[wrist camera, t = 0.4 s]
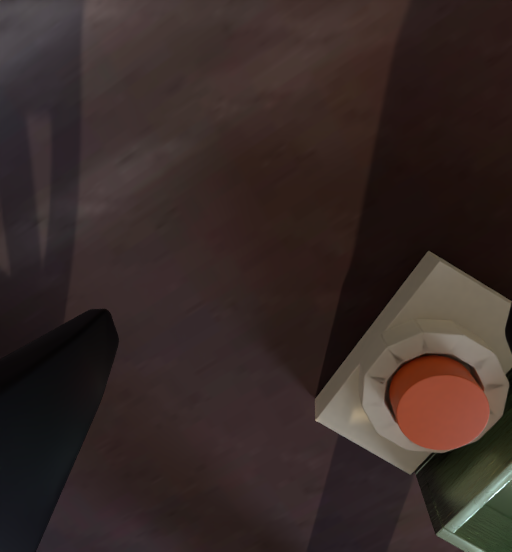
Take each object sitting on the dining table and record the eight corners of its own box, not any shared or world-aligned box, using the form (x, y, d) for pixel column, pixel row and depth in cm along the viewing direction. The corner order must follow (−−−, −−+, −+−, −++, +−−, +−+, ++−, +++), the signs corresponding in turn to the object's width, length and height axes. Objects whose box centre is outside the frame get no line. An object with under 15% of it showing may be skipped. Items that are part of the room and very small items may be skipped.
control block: (404, 451, 27) (420, 500, 24) (312, 398, 27) (313, 439, 23) (531, 313, 24) (574, 344, 20) (425, 249, 23) (448, 268, 19)
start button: (439, 438, 23) (450, 464, 21) (372, 400, 23) (378, 423, 21) (492, 382, 21) (510, 404, 20) (422, 340, 21) (433, 358, 19)
